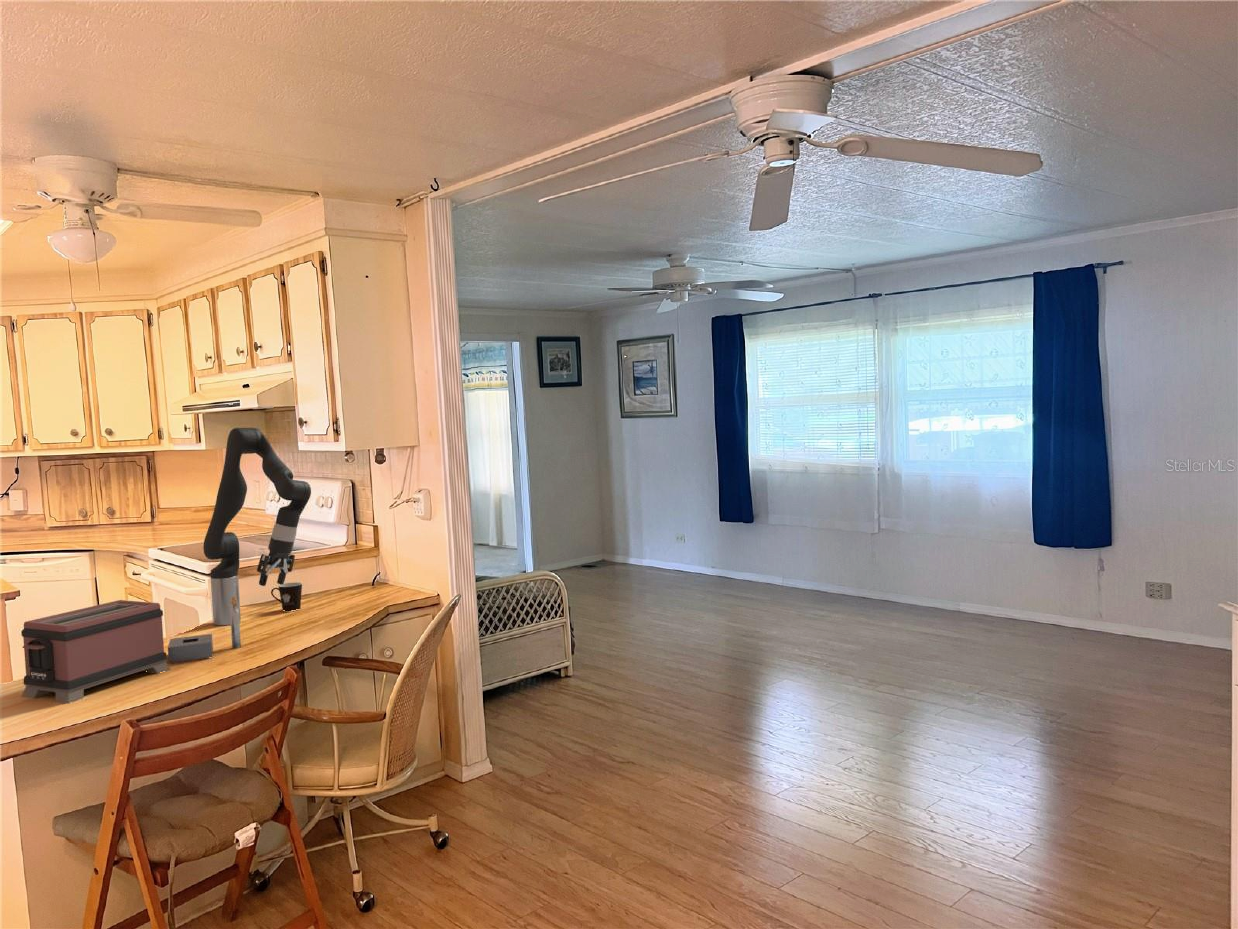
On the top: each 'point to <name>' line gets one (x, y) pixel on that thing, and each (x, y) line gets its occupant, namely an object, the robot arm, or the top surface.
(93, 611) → the toaster
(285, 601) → the coffee mug
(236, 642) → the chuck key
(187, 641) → the block
